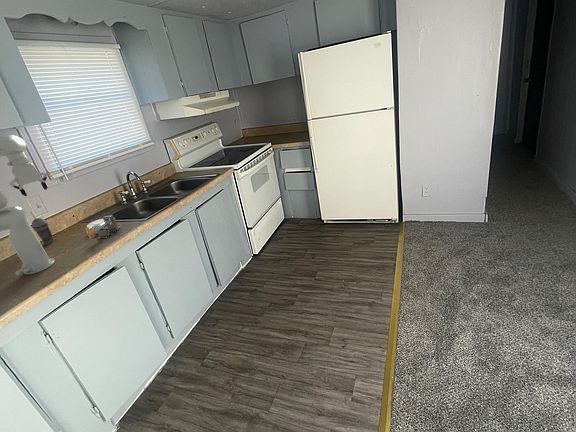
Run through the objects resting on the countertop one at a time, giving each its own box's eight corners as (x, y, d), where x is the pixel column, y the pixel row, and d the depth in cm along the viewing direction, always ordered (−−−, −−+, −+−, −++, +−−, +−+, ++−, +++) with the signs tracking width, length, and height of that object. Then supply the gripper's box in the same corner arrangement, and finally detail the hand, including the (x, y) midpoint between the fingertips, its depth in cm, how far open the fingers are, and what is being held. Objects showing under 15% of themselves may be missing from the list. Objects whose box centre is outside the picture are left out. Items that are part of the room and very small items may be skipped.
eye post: (115, 231, 174) (108, 217, 170) (107, 232, 175) (100, 218, 172) (120, 227, 178) (114, 214, 175) (112, 228, 180) (106, 214, 176)
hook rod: (94, 239, 161) (89, 229, 158) (88, 239, 162) (83, 230, 159) (118, 222, 179) (114, 213, 176) (113, 223, 179) (109, 213, 177)
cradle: (105, 238, 167) (102, 230, 166) (98, 239, 168) (94, 231, 167) (110, 234, 171) (107, 227, 169) (103, 235, 172) (99, 228, 170)
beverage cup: (49, 245, 173) (31, 213, 165) (39, 246, 175) (21, 215, 167) (60, 239, 179) (43, 208, 171) (50, 239, 181) (33, 209, 173)
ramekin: (88, 236, 175) (84, 228, 173) (93, 229, 185) (89, 221, 183) (108, 231, 177) (105, 223, 175) (112, 224, 187) (109, 216, 185)
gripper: (1, 167, 154) (19, 198, 160) (40, 157, 166) (55, 187, 172) (-2, 167, 158) (15, 198, 165) (36, 158, 170) (51, 186, 177)
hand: (36, 192), depth 169 cm, fingers open, 9 cm apart
